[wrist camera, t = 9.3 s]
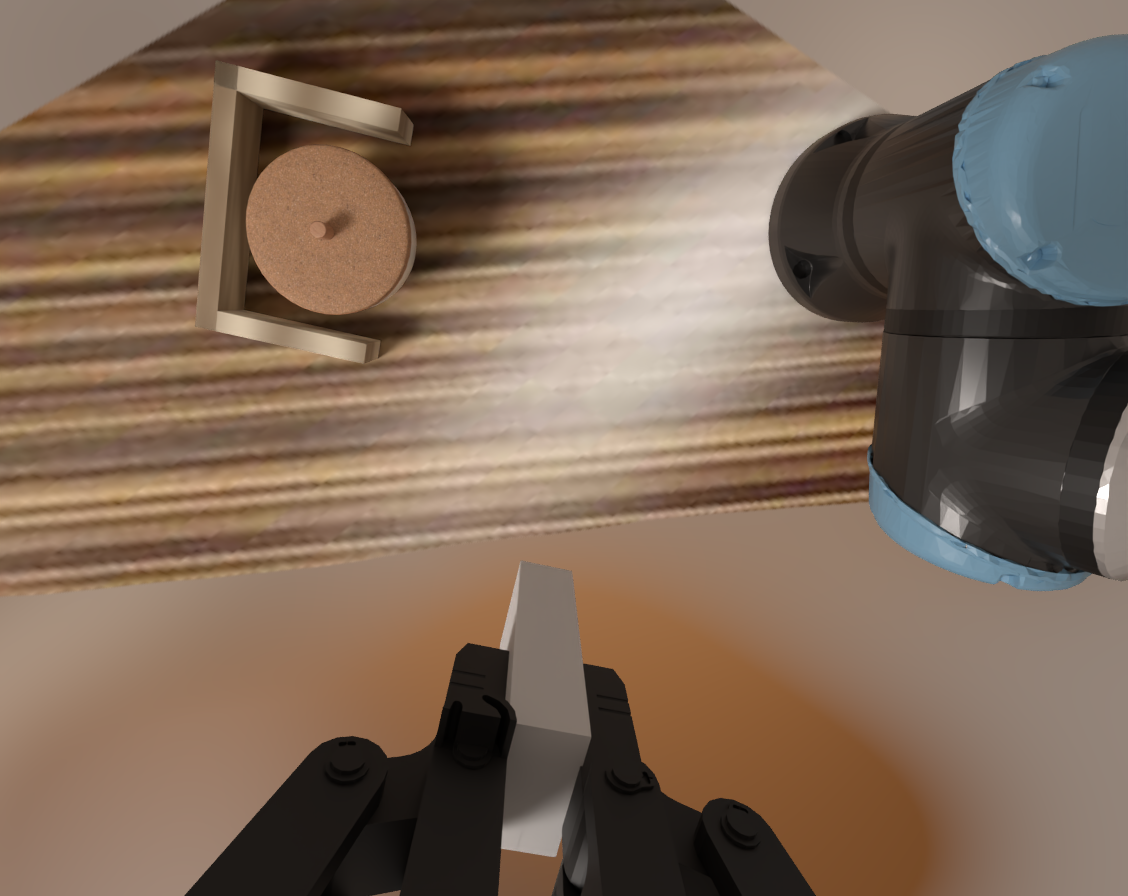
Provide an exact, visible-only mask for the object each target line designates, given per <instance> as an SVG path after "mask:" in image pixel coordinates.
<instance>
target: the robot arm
mask: <svg viewBox="0 0 1128 896" xmlns="http://www.w3.org/2000/svg"><path fill="white" fill-rule="evenodd" d="M769 246H770V253H771V257H772V261H773V264H774V267H775V270H776V272H777V275H778V277H779V279H780V281H781V282H782V284H783V286H784V287H785V288H786V290H787V291H788V292H789V294H790V295H791V296H792V297H793V298H794V299H795V300H796V301H797V302H798V303H800V304H801V305H802V306H803V307H805V308H806V309H808V310H809V311H811V312H813V313H815V314H817V315H819V316H822V317H824V318H828V319H832V320H837V321H845V322H861V323H863V322H875V321H881V320H885V325H884V331H883V339H882V349H881V359H880V369H879V379H878V389H877V400H876V410H875V420H874V430H873V440H872V444H871V445H870V446H869V449H868V454H867V461H868V465H869V469H870V483H869V504H870V509H871V511H872V513H873V514H874V517H875V519H876V521H877V523H878V525H879V526H880V528H881V529H882V530H883V531H884V532H885V533H886V534H887V535H888V536H889V537H890V538H891V539H893V540H894V541H895V542H896V543H898V544H899V545H900V546H902V547H903V548H905V549H906V550H908V551H909V552H911V553H913V554H914V555H916V556H918V557H920V558H922V559H924V560H926V561H928V562H930V563H932V564H934V565H936V566H938V567H941V568H943V569H946V570H948V571H950V572H953V573H956V574H958V575H962V576H964V577H967V578H971V579H974V580H978V581H982V582H986V583H990V584H996V583H998V582H999V581H1003V582H1005V583H1007V584H1009V585H1011V586H1013V587H1015V588H1017V589H1023V590H1031V591H1053V590H1063V589H1068V588H1070V587H1073V586H1075V585H1078V584H1080V583H1081V582H1083V581H1084V580H1085V579H1086V578H1087V577H1088V576H1090V575H1091V574H1096V575H1099V576H1103V577H1106V578H1108V579H1113V580H1118V581H1126V580H1128V34H1125V35H1124V34H1122V35H1109V36H1102V37H1097V38H1093V39H1089V40H1086V41H1082V42H1079V43H1076V44H1073V45H1071V46H1068V47H1066V48H1063V49H1061V50H1059V51H1056V52H1054V53H1051V54H1049V55H1042V56H1039V57H1034V58H1032V59H1030V60H1027V61H1023V62H1020V63H1017V64H1015V65H1014V66H1013V67H1010V68H1007V69H1005V70H1003V71H1001V72H999V73H998V74H997V75H995V76H994V77H993V78H992V79H991V80H989V81H987V82H985V83H983V84H981V85H979V86H977V87H975V88H973V89H971V90H969V91H967V92H965V93H963V94H961V95H959V96H957V97H955V98H953V99H951V100H949V101H947V102H945V103H943V104H941V105H939V106H937V107H935V108H933V109H931V110H929V111H927V112H925V113H923V114H922V115H919V116H908V115H898V114H881V115H874V116H869V117H864V118H861V119H857V120H854V121H852V122H849V123H847V124H845V125H843V126H841V127H839V128H837V129H835V130H834V131H832V132H830V133H828V134H827V135H825V136H823V137H822V138H820V139H819V140H817V141H816V142H815V143H813V144H812V145H811V146H810V147H808V148H807V149H806V150H805V151H804V152H803V153H802V154H801V155H800V156H799V157H798V158H797V160H796V161H795V162H794V163H793V165H792V166H791V167H790V169H789V170H788V172H787V173H786V175H785V177H784V178H783V180H782V182H781V184H780V186H779V188H778V191H777V193H776V196H775V199H774V202H773V206H772V210H771V215H770V222H769ZM630 715H631V712H630V707H629V704H628V698H627V693H626V689H625V684H624V683H623V682H622V680H621V679H620V678H619V676H618V675H617V674H616V672H615V671H614V670H613V669H609V668H604V667H599V666H594V665H588V664H583V661H582V653H581V644H580V636H579V627H578V618H577V609H576V601H575V592H574V583H573V575H572V571H569V570H565V569H560V568H554V567H550V566H545V565H540V564H535V563H531V562H526V561H521V562H520V566H519V570H518V574H517V578H516V582H515V586H514V590H513V594H512V598H511V603H510V607H509V611H508V615H507V619H506V623H505V627H504V632H503V635H502V639H501V644H500V649H496V648H491V647H486V646H481V645H475V644H470V643H468V644H466V645H465V646H464V647H463V648H462V649H461V650H460V651H459V652H458V653H457V654H456V658H455V662H454V666H453V670H452V675H451V679H450V683H449V687H448V692H447V696H446V701H445V704H444V707H443V710H442V714H441V719H440V723H439V728H438V732H437V735H436V737H435V739H434V740H433V741H432V742H431V743H430V744H429V745H428V746H427V747H425V748H424V749H422V750H421V751H418V752H416V753H413V754H411V755H406V756H401V757H391V758H387V756H386V754H385V753H384V752H383V750H382V749H381V748H380V747H379V746H378V745H376V744H375V743H373V742H371V741H369V740H368V739H364V738H359V737H354V736H350V737H339V738H335V739H332V740H329V741H327V742H324V743H322V744H321V745H319V746H318V747H317V748H316V749H315V750H313V751H312V752H311V753H310V754H309V755H308V756H307V757H306V758H305V759H304V761H303V762H302V763H301V764H300V765H299V766H298V767H297V769H296V770H295V771H294V772H293V773H292V774H291V776H290V777H289V778H288V779H287V780H286V781H285V782H284V783H283V785H282V786H281V787H280V788H279V789H278V790H277V791H276V792H275V794H274V795H273V796H272V797H271V798H270V799H269V800H268V801H267V803H266V804H265V805H264V806H263V807H262V808H261V809H260V811H259V812H258V813H257V814H256V815H255V816H254V817H253V818H252V820H251V821H250V822H249V823H248V824H247V825H246V826H245V828H244V829H243V830H242V831H241V832H240V833H239V834H238V835H237V837H236V838H235V839H234V840H233V841H232V842H231V843H230V845H229V846H228V847H227V848H226V849H225V850H224V852H223V853H222V854H221V855H220V856H219V857H218V858H217V859H216V861H215V862H214V863H213V864H212V865H211V866H210V867H209V868H208V870H207V871H206V872H205V873H204V874H203V875H202V876H201V877H200V879H199V880H198V881H197V882H196V883H195V884H194V885H193V887H192V888H191V889H190V890H189V891H188V892H187V893H186V894H185V896H372V895H377V894H382V893H388V892H393V891H398V890H401V892H400V896H498V886H499V872H500V856H501V849H508V850H513V851H520V852H526V853H532V854H539V855H546V856H552V857H556V854H557V851H558V847H559V844H560V841H561V837H562V845H563V860H562V863H561V866H560V870H559V873H558V876H557V879H556V883H555V886H554V890H553V893H552V896H816V895H815V894H814V892H813V891H812V889H811V888H810V886H809V885H808V883H807V882H806V880H805V879H804V877H803V876H802V874H801V873H800V871H799V870H798V868H797V867H796V865H795V864H794V862H793V861H792V859H791V858H790V856H789V855H788V853H787V852H786V850H785V849H784V847H783V846H782V845H781V843H780V841H779V840H778V838H777V837H776V835H775V834H774V832H773V831H772V829H771V828H770V826H769V825H768V824H767V823H766V822H765V821H764V819H762V817H761V816H760V815H759V814H757V813H756V812H755V811H753V810H752V809H751V808H749V807H748V806H746V805H744V804H741V803H739V802H737V801H735V800H731V799H723V798H719V799H715V800H711V801H709V802H708V803H707V805H706V806H705V807H704V808H703V811H702V813H701V812H699V811H696V810H694V809H692V808H690V807H688V806H685V805H683V804H681V803H679V802H677V801H675V800H673V799H671V798H669V797H668V796H666V795H665V794H664V793H662V792H661V790H660V786H659V783H658V781H657V779H656V777H655V774H654V773H653V772H652V771H651V770H650V769H649V768H648V767H647V766H646V764H644V763H643V762H641V758H640V753H639V748H638V744H637V739H636V735H635V730H634V726H633V721H632V717H631V716H630Z"/></svg>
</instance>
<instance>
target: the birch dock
mask: <svg viewBox="0 0 1128 896" xmlns="http://www.w3.org/2000/svg"><path fill="white" fill-rule="evenodd" d="M263 109H267V110H271V111H275V112H279V113H283V114H287V115H291V116H295V117H299V118H302V119H306V120H310V121H314V122H318V123H322V124H326V125H330V126H334V127H338V128H342V129H346V130H350V131H354V132H358V133H362V134H365V135H369V136H373V137H377V138H381V139H385V140H389V141H393V142H397V143H401V144H405V145H409V146H411V139H412V132H413V126H414V125H413V123H412V122H411V121H410V119H409V118H408V117H407V115H406V114H405V113H404V111H403V110H402V109H401V108H398V107H394V106H390V105H386V104H382V103H379V102H375V101H371V100H367V99H363V98H359V97H355V96H352V95H348V94H344V93H340V92H336V91H332V90H328V89H325V88H321V87H317V86H313V85H309V84H305V83H301V82H298V81H294V80H290V79H286V78H282V77H278V76H274V75H271V74H267V73H263V72H259V71H255V70H251V69H247V68H244V67H240V66H236V65H232V64H228V63H224V62H220V61H217V60H216V64H215V77H214V90H213V103H212V115H211V128H210V141H209V154H208V167H207V180H206V193H205V206H204V218H203V231H202V244H201V257H200V270H199V283H198V296H197V308H196V321H195V327H200V328H204V329H209V330H213V331H218V332H222V333H227V334H231V335H236V336H241V337H245V338H250V339H254V340H259V341H263V342H268V343H272V344H277V345H281V346H286V347H291V348H295V349H300V350H304V351H309V352H313V353H318V354H322V355H327V356H331V357H336V358H341V359H345V360H350V361H354V362H359V363H363V364H364V363H367V362H370V361H372V360H375V359H378V355H379V349H380V342H381V340H377V339H372V338H368V337H363V336H359V335H354V334H350V333H345V332H341V331H336V330H332V329H327V328H323V327H319V326H314V325H310V324H305V323H301V322H296V321H292V320H287V319H283V318H278V317H274V316H269V315H265V314H260V313H256V312H252V311H247V310H244V305H245V295H246V284H247V274H248V264H249V253H250V246H249V242H248V238H247V231H246V210H247V205H248V200H249V196H250V194H251V191H252V189H253V186H254V184H255V182H256V181H257V171H258V160H259V150H260V139H261V129H262V119H263Z"/></svg>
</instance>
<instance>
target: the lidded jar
mask: <svg viewBox="0 0 1128 896" xmlns="http://www.w3.org/2000/svg"><path fill="white" fill-rule="evenodd" d="M246 231H247V238H248V242H249V246H250V250H251V252H252V255H253V257H254V260H255V262H256V264H257V266H258V267H259V269H260V271H261V273H262V274H263V275H264V277H265V278H266V279H267V281H268V282H269V283H270V284H271V285H272V286H273V287H274V288H275V289H276V290H277V291H278V292H279V293H280V294H281V295H283V296H284V297H285V298H287V299H288V300H289V301H291V302H293V303H295V304H296V305H298V306H300V307H302V308H305V309H308V310H310V311H313V312H317V313H323V314H331V315H343V314H350V313H356V312H359V311H362V310H366V309H368V308H371V307H374V306H376V305H378V304H380V303H382V302H384V301H386V300H387V299H388V298H390V297H391V296H392V295H394V294H395V293H396V292H397V291H398V290H399V289H400V288H401V287H402V285H403V284H404V282H405V281H406V279H407V278H408V276H409V274H410V271H411V269H412V267H413V263H414V260H415V255H416V247H417V243H416V230H415V225H414V221H413V218H412V215H411V212H410V210H409V208H408V206H407V204H406V202H405V200H404V198H403V197H402V195H401V194H400V192H399V191H398V190H397V188H396V187H395V186H394V185H393V184H392V182H391V181H390V180H389V179H388V178H387V176H386V175H385V174H384V173H383V172H382V171H381V170H380V169H379V168H377V167H376V166H375V165H374V164H372V163H371V162H370V161H368V160H367V159H365V158H364V157H362V156H360V155H358V154H357V153H355V152H352V151H349V150H347V149H344V148H341V147H336V146H331V145H317V144H315V145H308V146H302V147H299V148H296V149H292V150H290V151H288V152H286V153H284V154H282V155H280V156H279V157H277V158H276V159H275V160H274V161H272V162H271V163H270V164H269V165H268V166H267V167H266V168H265V169H264V170H263V172H262V173H261V174H260V176H259V177H258V179H257V181H256V182H255V184H254V186H253V189H252V191H251V194H250V196H249V200H248V205H247V210H246Z"/></svg>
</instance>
